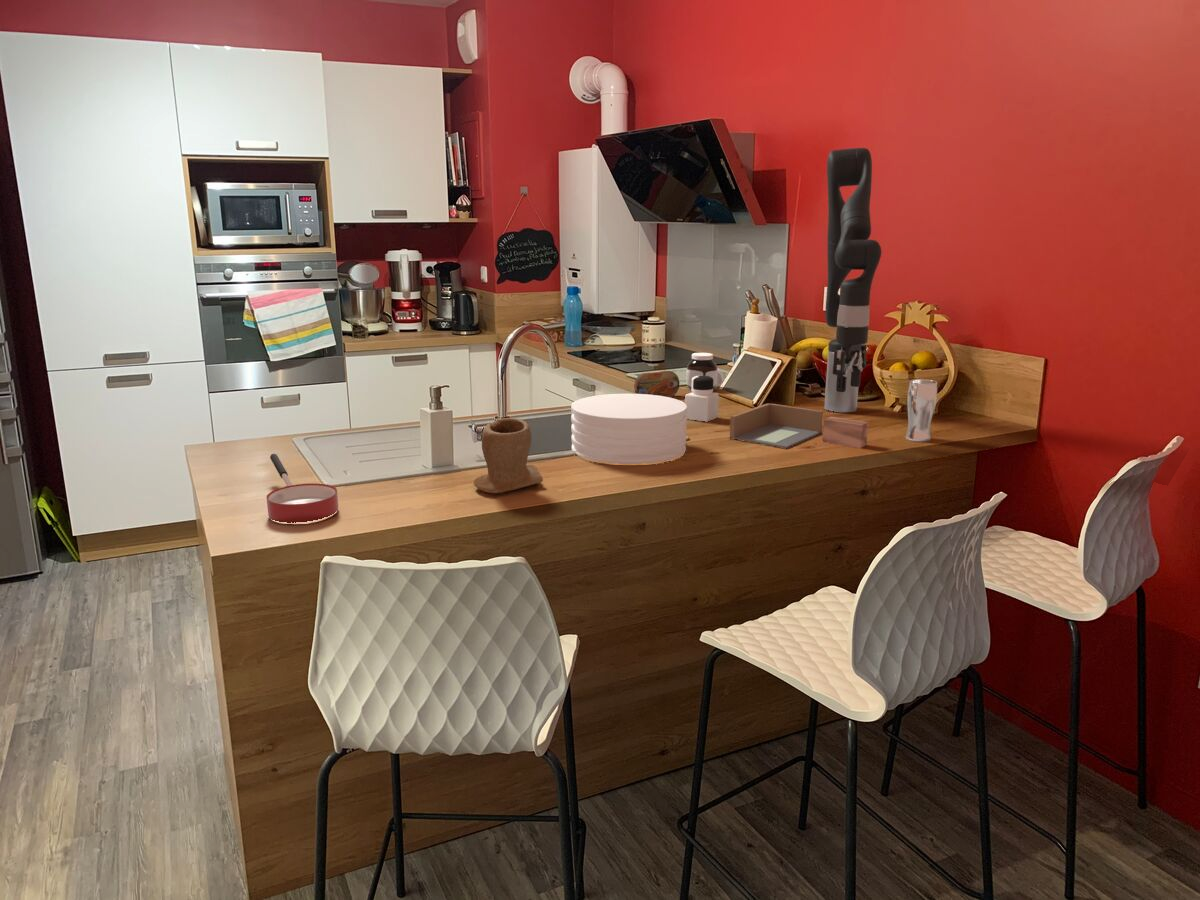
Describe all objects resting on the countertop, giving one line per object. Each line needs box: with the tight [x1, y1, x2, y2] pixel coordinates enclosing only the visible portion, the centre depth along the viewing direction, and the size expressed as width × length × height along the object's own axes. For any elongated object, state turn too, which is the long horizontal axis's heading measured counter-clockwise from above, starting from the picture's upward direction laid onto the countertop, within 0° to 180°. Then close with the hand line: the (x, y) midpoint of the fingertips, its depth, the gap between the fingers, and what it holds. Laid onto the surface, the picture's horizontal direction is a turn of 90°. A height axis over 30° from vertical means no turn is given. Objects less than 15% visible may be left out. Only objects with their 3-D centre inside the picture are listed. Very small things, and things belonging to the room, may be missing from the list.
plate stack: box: [570, 393, 688, 464], centre depth 219 cm, size 28×28×12 cm
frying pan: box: [266, 453, 339, 523], centre depth 181 cm, size 32×13×6 cm, turn 36°
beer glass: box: [905, 378, 938, 443], centre depth 229 cm, size 7×7×15 cm
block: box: [822, 416, 869, 449], centre depth 226 cm, size 4×10×6 cm, turn 52°
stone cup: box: [473, 417, 544, 494], centre depth 189 cm, size 15×12×15 cm
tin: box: [633, 370, 680, 398], centre depth 279 cm, size 15×3×8 cm, turn 115°
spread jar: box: [685, 352, 724, 390], centre depth 293 cm, size 12×11×12 cm
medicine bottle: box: [684, 376, 720, 423], centre depth 252 cm, size 7×7×12 cm
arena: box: [729, 402, 824, 449], centre depth 233 cm, size 20×16×6 cm
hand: (847, 389), depth 223 cm, fingers open, 8 cm apart
